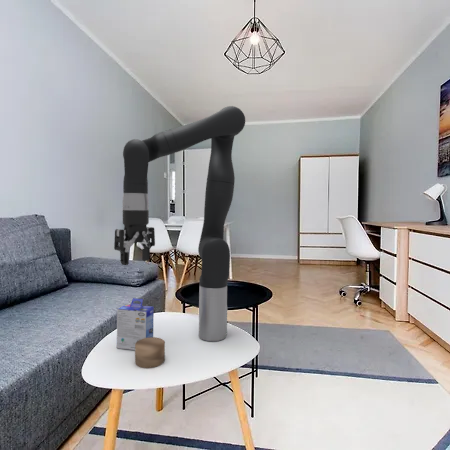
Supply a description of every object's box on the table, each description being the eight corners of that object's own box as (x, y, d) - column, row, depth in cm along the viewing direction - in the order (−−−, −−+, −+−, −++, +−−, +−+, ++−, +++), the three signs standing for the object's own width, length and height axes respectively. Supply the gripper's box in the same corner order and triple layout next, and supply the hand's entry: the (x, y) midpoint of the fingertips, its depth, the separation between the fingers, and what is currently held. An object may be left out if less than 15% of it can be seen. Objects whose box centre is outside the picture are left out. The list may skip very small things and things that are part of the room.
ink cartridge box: (154, 344, 98) (154, 298, 97) (146, 352, 93) (146, 304, 92) (125, 341, 100) (125, 296, 99) (116, 348, 94) (116, 301, 94)
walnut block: (149, 351, 93) (149, 335, 93) (170, 358, 89) (170, 341, 89) (128, 363, 86) (128, 345, 86) (151, 371, 82) (151, 352, 82)
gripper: (126, 209, 86) (126, 267, 87) (161, 209, 98) (161, 260, 99) (107, 208, 89) (108, 265, 90) (143, 208, 102) (143, 258, 103)
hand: (135, 262), depth 95 cm, fingers open, 8 cm apart
